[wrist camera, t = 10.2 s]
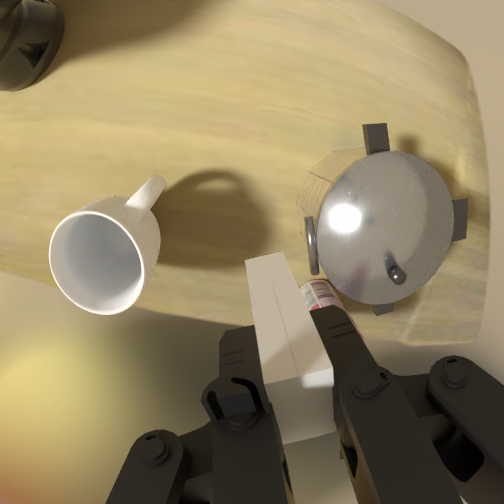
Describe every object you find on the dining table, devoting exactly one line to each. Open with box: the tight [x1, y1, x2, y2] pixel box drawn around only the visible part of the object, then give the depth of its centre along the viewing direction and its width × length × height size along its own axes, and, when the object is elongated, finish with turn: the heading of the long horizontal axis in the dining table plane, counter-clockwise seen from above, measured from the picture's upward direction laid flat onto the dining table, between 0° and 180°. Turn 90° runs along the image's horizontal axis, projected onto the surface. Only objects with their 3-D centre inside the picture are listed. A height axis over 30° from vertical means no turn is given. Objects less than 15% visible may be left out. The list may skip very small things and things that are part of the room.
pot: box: [296, 123, 394, 316], centre depth 35 cm, size 22×16×10 cm
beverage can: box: [300, 280, 369, 350], centre depth 37 cm, size 6×6×15 cm
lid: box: [304, 151, 468, 304], centre depth 29 cm, size 17×20×3 cm
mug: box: [49, 174, 167, 315], centre depth 32 cm, size 15×11×13 cm
